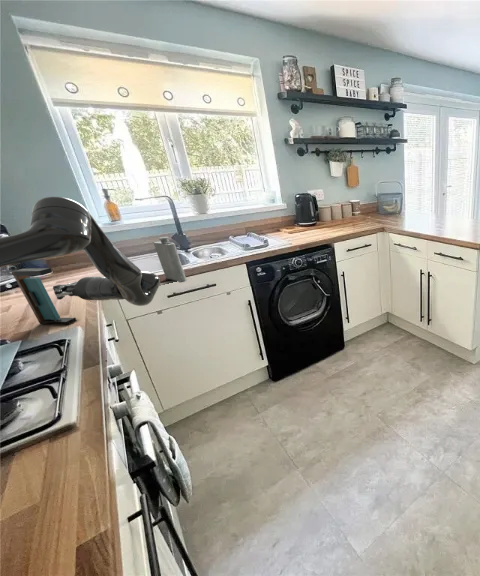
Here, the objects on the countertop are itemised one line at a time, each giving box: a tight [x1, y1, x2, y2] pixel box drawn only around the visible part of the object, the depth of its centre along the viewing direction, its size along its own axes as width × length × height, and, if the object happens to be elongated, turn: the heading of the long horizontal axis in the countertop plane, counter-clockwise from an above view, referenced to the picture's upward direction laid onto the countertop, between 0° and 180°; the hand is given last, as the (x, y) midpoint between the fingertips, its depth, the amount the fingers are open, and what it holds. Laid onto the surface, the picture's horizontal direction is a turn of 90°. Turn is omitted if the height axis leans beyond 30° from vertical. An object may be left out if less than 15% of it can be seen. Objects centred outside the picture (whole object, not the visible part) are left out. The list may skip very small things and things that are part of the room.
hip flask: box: [153, 236, 188, 283], centre depth 142 cm, size 16×4×20 cm, turn 57°
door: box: [23, 277, 61, 320], centre depth 105 cm, size 3×6×15 cm, turn 80°
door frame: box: [10, 267, 77, 326], centre depth 104 cm, size 3×12×20 cm, turn 80°
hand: (56, 288), depth 101 cm, fingers closed
